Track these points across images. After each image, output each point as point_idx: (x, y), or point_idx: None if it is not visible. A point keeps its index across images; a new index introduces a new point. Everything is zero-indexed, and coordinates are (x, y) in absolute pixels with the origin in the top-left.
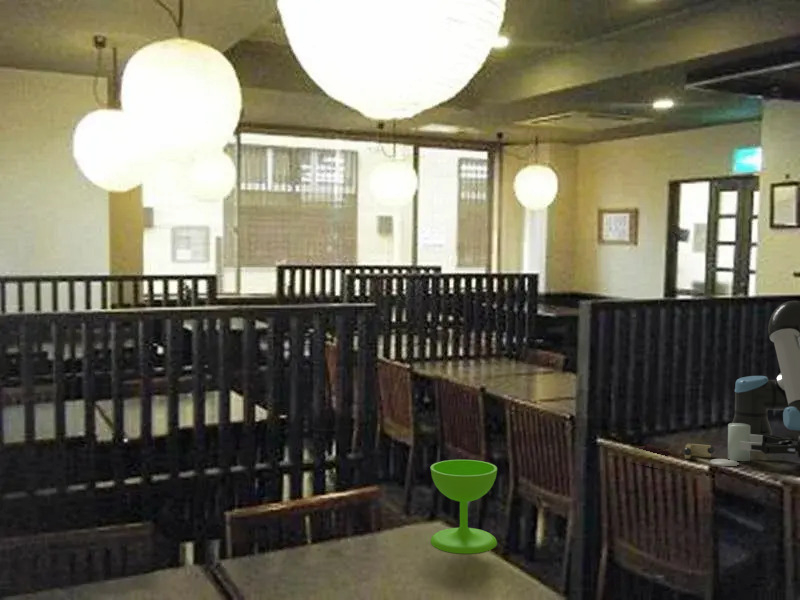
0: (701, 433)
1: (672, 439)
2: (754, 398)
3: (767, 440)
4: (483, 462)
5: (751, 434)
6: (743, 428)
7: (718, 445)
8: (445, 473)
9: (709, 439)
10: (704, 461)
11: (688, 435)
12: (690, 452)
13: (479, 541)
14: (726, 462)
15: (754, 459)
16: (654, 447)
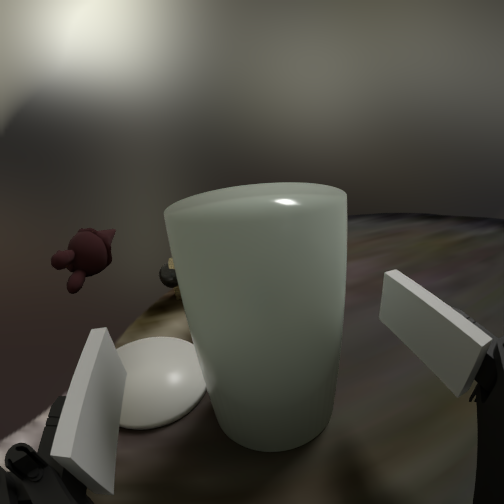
0: (480, 232)
1: (379, 229)
2: None
3: (489, 404)
4: None
5: (431, 298)
6: (172, 233)
7: (437, 278)
8: None
9: (462, 251)
10: (157, 329)
11: (442, 229)
12: (164, 280)
13: None
14: (139, 381)
15: (348, 451)
16: (74, 240)
